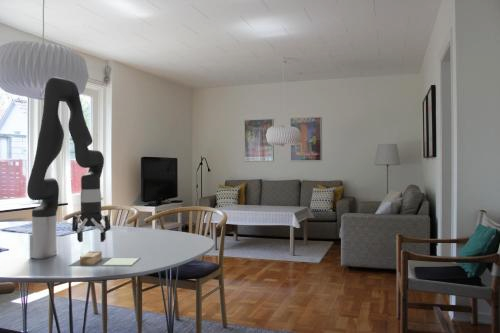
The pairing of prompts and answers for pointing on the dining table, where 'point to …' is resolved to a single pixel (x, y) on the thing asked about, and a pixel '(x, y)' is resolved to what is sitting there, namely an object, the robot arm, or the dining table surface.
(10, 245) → the dining table surface
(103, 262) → the mat
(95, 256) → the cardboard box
